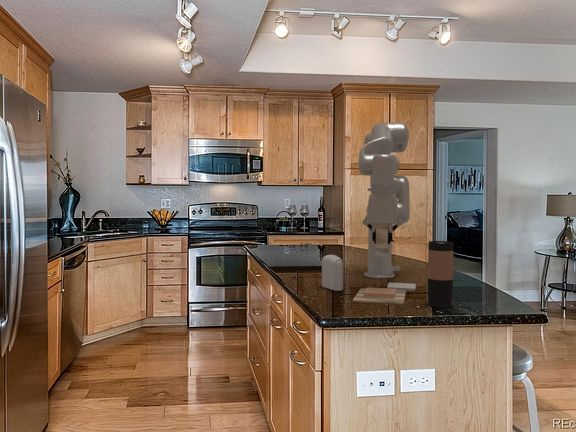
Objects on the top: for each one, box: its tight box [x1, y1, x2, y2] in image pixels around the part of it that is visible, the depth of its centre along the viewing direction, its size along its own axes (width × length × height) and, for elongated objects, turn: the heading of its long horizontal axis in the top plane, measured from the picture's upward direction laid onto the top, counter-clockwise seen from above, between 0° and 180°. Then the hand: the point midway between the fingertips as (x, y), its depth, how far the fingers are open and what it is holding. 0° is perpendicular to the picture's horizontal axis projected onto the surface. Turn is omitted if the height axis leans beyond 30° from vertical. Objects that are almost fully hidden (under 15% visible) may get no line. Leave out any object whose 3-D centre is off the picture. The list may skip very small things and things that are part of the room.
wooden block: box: [376, 224, 389, 257], centre depth 185 cm, size 4×4×16 cm
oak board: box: [352, 287, 407, 305], centre depth 181 cm, size 20×16×1 cm
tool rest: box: [386, 282, 417, 292], centre depth 198 cm, size 10×10×1 cm
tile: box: [364, 286, 397, 299], centre depth 180 cm, size 2×10×10 cm
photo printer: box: [321, 254, 344, 292], centre depth 195 cm, size 10×4×12 cm, turn 26°
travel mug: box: [427, 240, 454, 309], centre depth 167 cm, size 8×8×20 cm
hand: (382, 242), depth 185 cm, fingers closed on wooden block, 4 cm apart
